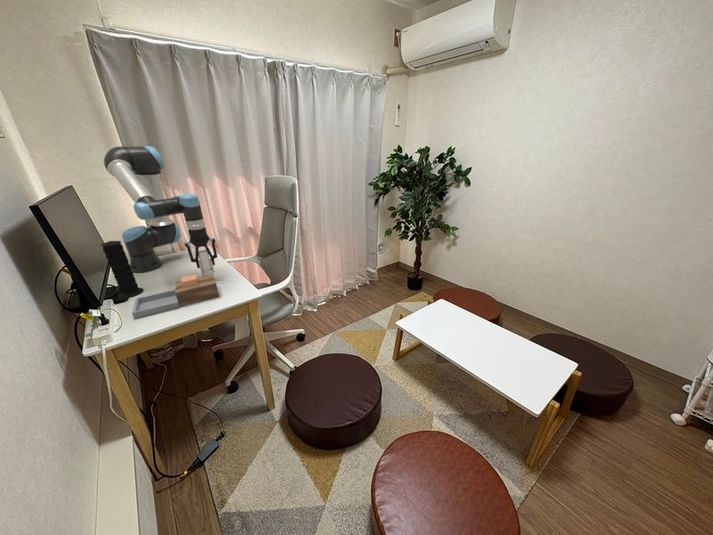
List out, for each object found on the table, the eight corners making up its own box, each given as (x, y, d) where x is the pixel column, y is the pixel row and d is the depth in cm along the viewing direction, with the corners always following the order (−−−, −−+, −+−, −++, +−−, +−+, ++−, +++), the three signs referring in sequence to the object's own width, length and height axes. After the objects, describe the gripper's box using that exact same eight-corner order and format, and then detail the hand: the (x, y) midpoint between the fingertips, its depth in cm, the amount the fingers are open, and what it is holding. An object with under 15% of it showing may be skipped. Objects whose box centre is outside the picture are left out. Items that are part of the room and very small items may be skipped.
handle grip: (132, 298, 127) (149, 288, 136) (110, 245, 116) (130, 237, 125) (112, 298, 128) (130, 287, 137) (89, 244, 117) (110, 237, 126)
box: (138, 303, 123) (135, 298, 122) (179, 294, 131) (177, 288, 129) (134, 319, 112) (131, 313, 111) (179, 307, 120) (177, 302, 118)
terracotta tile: (182, 283, 126) (181, 277, 125) (197, 279, 129) (196, 274, 127) (183, 288, 121) (181, 282, 120) (198, 284, 124) (196, 278, 123)
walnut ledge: (179, 295, 130) (175, 282, 127) (216, 286, 137) (213, 274, 134) (179, 306, 120) (175, 293, 117) (219, 297, 128) (216, 283, 125)
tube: (205, 281, 139) (198, 253, 133) (204, 278, 142) (197, 251, 136) (214, 278, 142) (208, 251, 135) (213, 275, 145) (206, 249, 138)
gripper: (175, 232, 124) (188, 279, 134) (217, 227, 132) (227, 271, 142) (175, 228, 130) (188, 273, 139) (215, 223, 138) (225, 265, 147)
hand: (207, 272), depth 141 cm, fingers closed on tube, 4 cm apart
